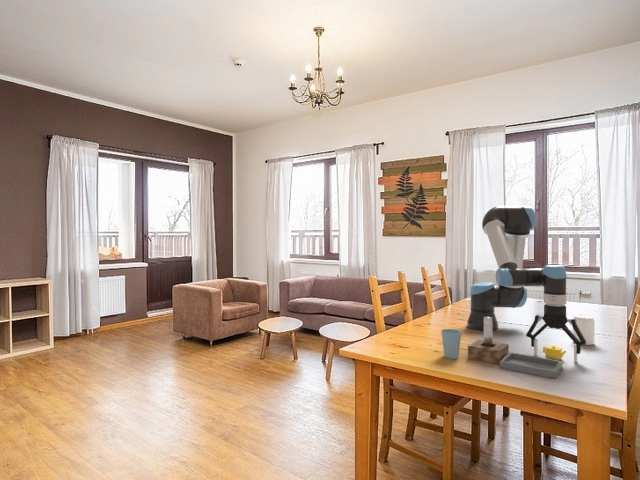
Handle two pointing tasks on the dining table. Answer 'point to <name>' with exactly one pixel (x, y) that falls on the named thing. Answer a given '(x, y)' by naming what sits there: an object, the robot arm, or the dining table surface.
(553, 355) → the teapot
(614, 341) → the dining table surface
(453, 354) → the cup
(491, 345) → the pin
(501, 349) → the wooden square hole block
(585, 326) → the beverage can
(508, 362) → the tray
